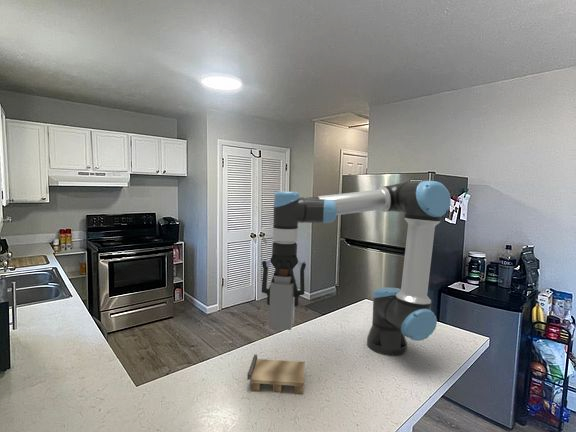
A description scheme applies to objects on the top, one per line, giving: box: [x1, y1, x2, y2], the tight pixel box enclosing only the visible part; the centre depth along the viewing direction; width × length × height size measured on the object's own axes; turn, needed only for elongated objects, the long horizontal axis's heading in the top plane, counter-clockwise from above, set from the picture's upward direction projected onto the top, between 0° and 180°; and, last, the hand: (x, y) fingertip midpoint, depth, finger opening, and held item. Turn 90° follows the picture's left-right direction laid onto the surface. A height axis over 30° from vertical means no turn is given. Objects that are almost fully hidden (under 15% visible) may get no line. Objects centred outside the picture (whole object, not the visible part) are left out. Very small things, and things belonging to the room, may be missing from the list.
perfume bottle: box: [268, 268, 296, 331], centre depth 100 cm, size 7×7×18 cm
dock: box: [247, 354, 306, 395], centre depth 102 cm, size 17×12×5 cm
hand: (282, 315), depth 100 cm, fingers closed on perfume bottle, 6 cm apart
